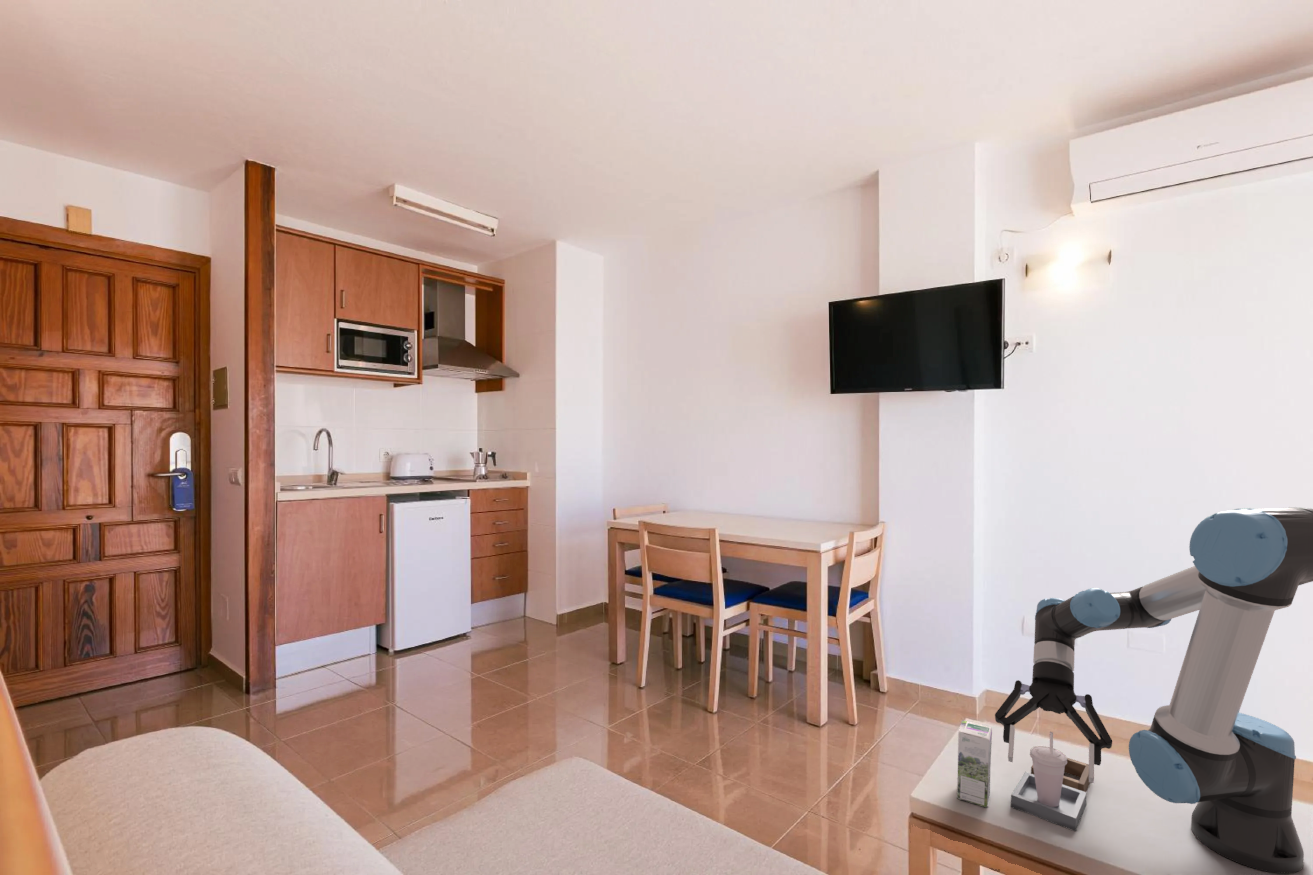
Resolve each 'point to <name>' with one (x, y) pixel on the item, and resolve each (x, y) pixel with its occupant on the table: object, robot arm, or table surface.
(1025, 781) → the tray
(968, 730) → the syrup box
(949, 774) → the table surface
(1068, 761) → the collar
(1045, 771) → the smoothie
